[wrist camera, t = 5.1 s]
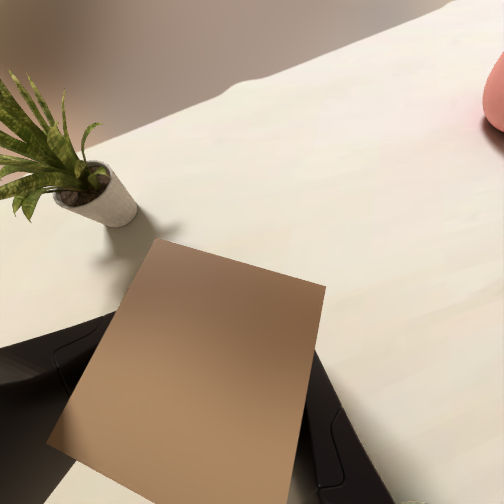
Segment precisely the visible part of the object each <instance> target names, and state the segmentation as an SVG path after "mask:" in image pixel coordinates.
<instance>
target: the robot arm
mask: <svg viewBox="0 0 504 504" xmlns="http://www.w3.org/2000/svg"><path fill="white" fill-rule="evenodd" d="M115 313H116V311H114V312H112V313H109V314H106V315H104V316H101V317H98V318H95V319H92V320H89V321H87V322H84V323H81V324H78V325H75V326H72V327H69V328H66V329H62V330H59V331H56V332H53V333H49V334H46V335H43V336H40V337H36V338H33V339H30V340H26V341H23V342H20V343H16V344H13V345H10V346H6V347H3V348H0V504H44V502H45V501H46V500H47V498H48V497H49V496H50V494H51V493H52V492H53V491H54V489H55V488H56V487H57V485H58V484H59V483H60V481H61V480H62V479H63V477H64V476H65V475H66V474H67V472H68V471H69V470H70V468H71V467H72V466H73V464H74V463H75V462H76V460H75V459H74V458H72V457H70V456H68V455H66V454H65V453H63V452H61V451H59V450H57V449H55V448H54V447H52V446H50V445H48V444H46V442H47V440H48V438H49V436H50V435H51V433H52V431H53V429H54V427H55V425H56V423H57V421H58V420H59V418H60V416H61V414H62V412H63V410H64V408H65V407H66V405H67V403H68V401H69V399H70V397H71V395H72V393H73V392H74V390H75V388H76V386H77V384H78V382H79V380H80V378H81V377H82V375H83V373H84V371H85V369H86V367H87V365H88V364H89V362H90V360H91V358H92V356H93V354H94V352H95V350H96V349H97V347H98V345H99V343H100V341H101V339H102V337H103V336H104V334H105V332H106V330H107V328H108V326H109V324H110V322H111V321H112V319H113V317H114V315H115ZM286 504H395V502H394V500H393V498H392V497H391V495H390V493H389V491H388V490H387V488H386V486H385V485H384V483H383V481H382V479H381V478H380V476H379V474H378V472H377V471H376V469H375V467H374V465H373V464H372V462H371V460H370V458H369V456H368V455H367V453H366V451H365V449H364V447H363V446H362V444H361V442H360V440H359V438H358V436H357V434H356V432H355V430H354V429H353V427H352V425H351V423H350V421H349V419H348V417H347V415H346V412H345V410H344V408H343V407H342V404H341V402H340V400H339V398H338V396H337V394H336V392H335V390H334V388H333V386H332V384H331V382H330V380H329V378H328V375H327V373H326V371H325V369H324V367H323V365H322V363H321V361H320V359H319V357H318V355H317V353H316V351H315V350H314V355H313V361H312V366H311V372H310V377H309V383H308V388H307V394H306V399H305V405H304V410H303V416H302V421H301V427H300V432H299V438H298V443H297V448H296V454H295V459H294V465H293V470H292V476H291V481H290V487H289V492H288V498H287V503H286Z"/></svg>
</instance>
